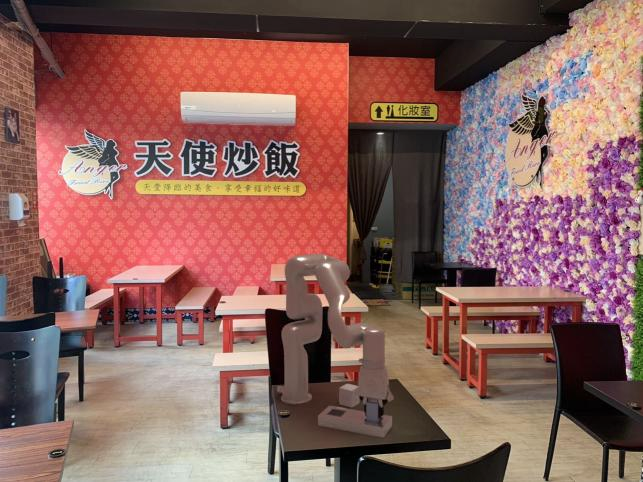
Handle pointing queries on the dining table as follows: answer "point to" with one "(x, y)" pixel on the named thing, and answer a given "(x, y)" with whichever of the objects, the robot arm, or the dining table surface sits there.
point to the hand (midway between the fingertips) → (373, 415)
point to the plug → (372, 411)
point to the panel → (353, 421)
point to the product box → (348, 395)
